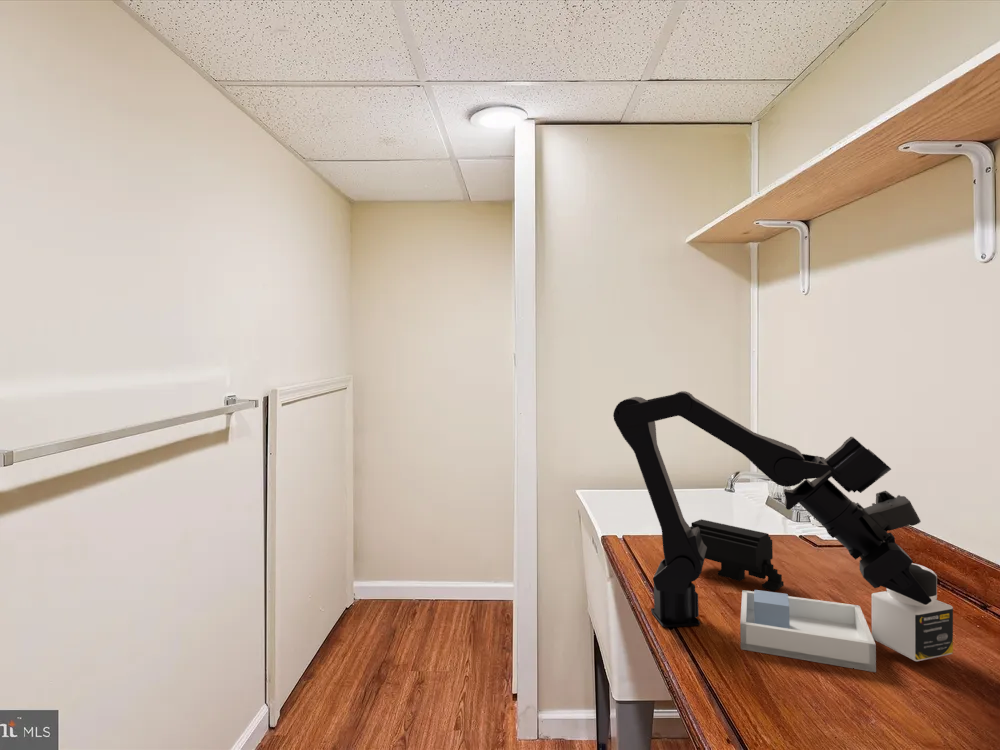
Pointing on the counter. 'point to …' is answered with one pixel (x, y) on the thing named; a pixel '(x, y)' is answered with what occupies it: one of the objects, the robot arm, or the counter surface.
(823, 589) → the counter surface
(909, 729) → the counter surface
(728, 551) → the security camera
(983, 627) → the counter surface
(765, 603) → the block
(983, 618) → the counter surface
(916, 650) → the medicine bottle
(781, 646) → the tote
